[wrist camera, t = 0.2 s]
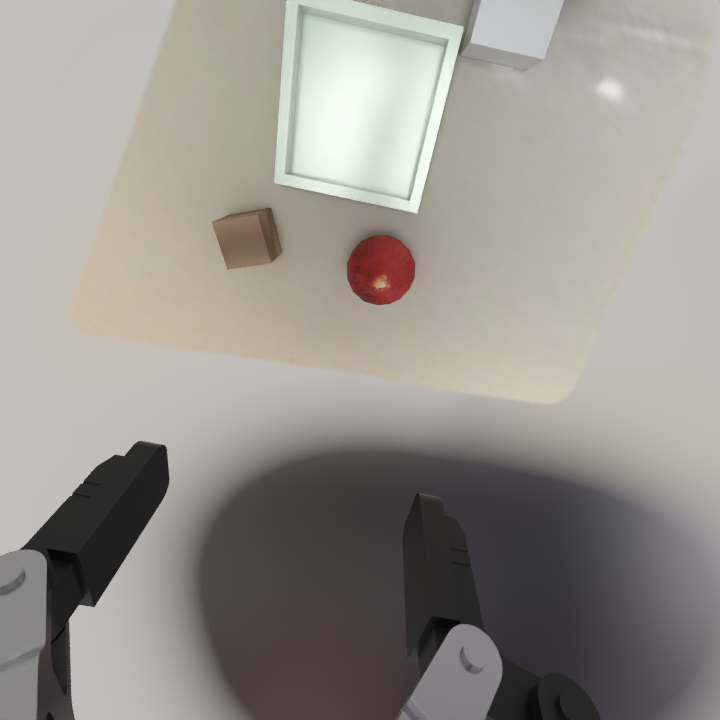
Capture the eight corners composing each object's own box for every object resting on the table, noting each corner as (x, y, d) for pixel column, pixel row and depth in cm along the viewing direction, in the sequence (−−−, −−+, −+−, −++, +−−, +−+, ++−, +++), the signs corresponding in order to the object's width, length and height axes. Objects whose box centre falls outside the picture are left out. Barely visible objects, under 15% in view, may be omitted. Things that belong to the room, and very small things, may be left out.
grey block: (478, -17, 26) (492, -42, 22) (547, 0, 26) (571, -23, 23) (459, 55, 28) (470, 42, 24) (524, 70, 28) (543, 59, 25)
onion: (381, 300, 38) (380, 335, 31) (338, 261, 36) (326, 288, 29) (424, 258, 35) (434, 285, 28) (380, 214, 34) (379, 231, 27)
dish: (295, -2, 27) (287, -15, 25) (457, 36, 27) (464, 26, 25) (281, 180, 33) (273, 182, 31) (415, 209, 33) (417, 213, 31)
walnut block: (229, 214, 35) (211, 222, 31) (270, 207, 34) (257, 214, 30) (242, 258, 36) (227, 269, 33) (282, 251, 36) (271, 262, 32)
